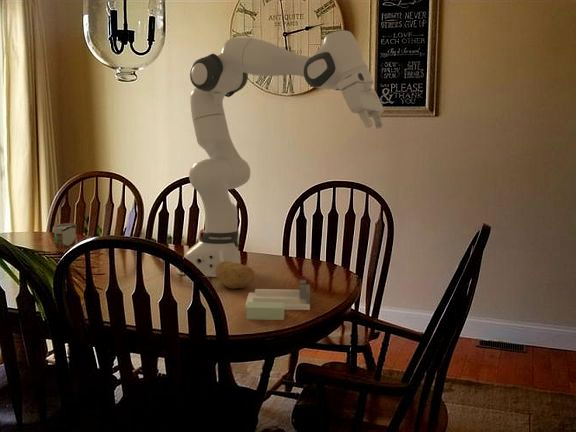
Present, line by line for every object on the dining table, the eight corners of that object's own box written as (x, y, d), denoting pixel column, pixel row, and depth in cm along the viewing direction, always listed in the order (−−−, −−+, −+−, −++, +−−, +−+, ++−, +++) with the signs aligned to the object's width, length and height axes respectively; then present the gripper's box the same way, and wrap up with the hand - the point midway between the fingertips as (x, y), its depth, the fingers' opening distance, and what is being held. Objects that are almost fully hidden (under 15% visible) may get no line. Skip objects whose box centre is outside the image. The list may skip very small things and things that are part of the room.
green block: (246, 320, 162) (246, 307, 161) (247, 314, 167) (247, 301, 166) (284, 320, 162) (284, 308, 161) (284, 314, 167) (284, 302, 166)
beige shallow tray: (245, 308, 170) (245, 288, 169) (248, 296, 182) (248, 277, 181) (309, 309, 170) (310, 289, 169) (309, 297, 182) (309, 278, 181)
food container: (63, 246, 247) (61, 222, 245) (77, 247, 246) (76, 223, 244) (47, 253, 235) (45, 227, 233) (62, 254, 234) (60, 228, 232)
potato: (242, 295, 183) (242, 269, 182) (208, 287, 191) (207, 262, 190) (262, 288, 191) (262, 263, 189) (229, 280, 199) (228, 256, 198)
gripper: (359, 91, 184) (376, 133, 183) (334, 84, 166) (353, 130, 165) (378, 81, 182) (395, 124, 181) (354, 73, 163) (373, 120, 162)
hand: (375, 127), depth 173 cm, fingers open, 8 cm apart
